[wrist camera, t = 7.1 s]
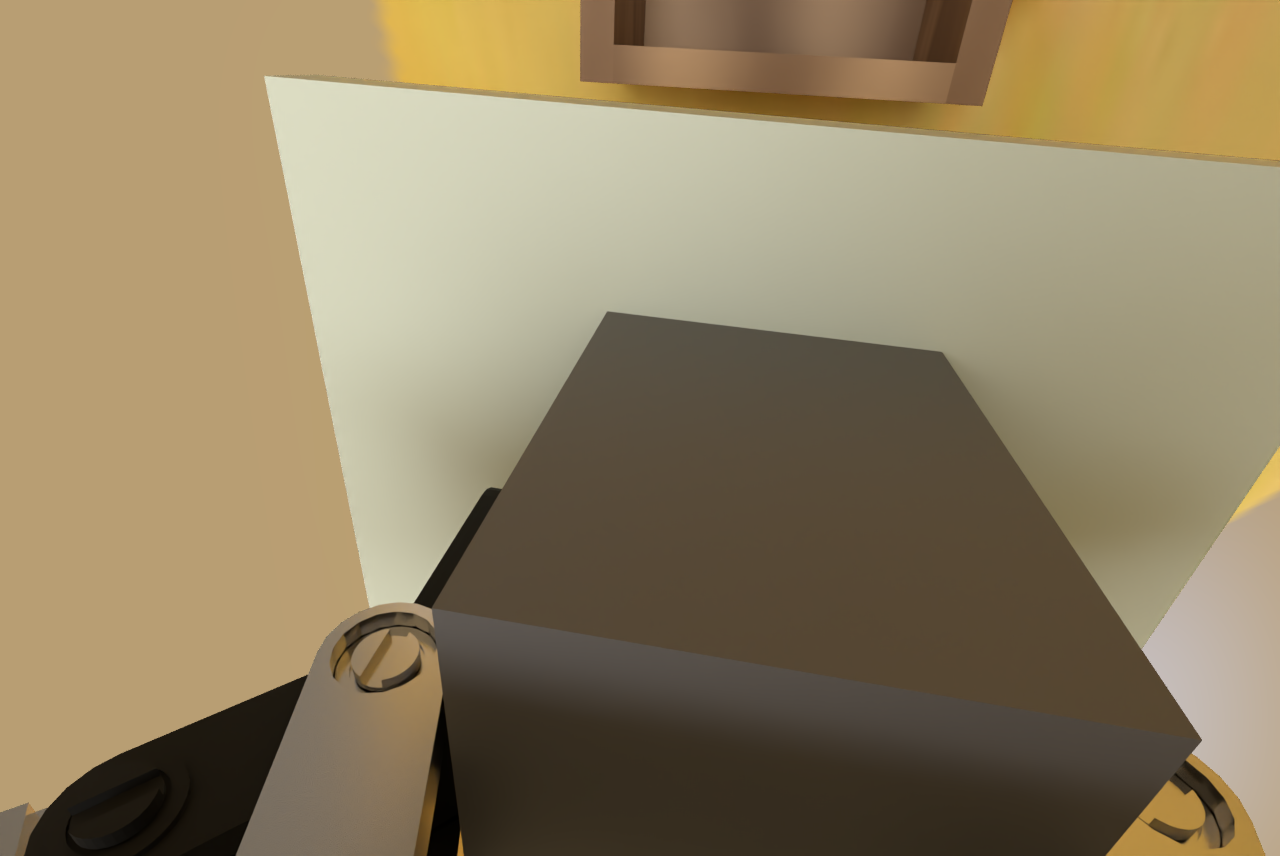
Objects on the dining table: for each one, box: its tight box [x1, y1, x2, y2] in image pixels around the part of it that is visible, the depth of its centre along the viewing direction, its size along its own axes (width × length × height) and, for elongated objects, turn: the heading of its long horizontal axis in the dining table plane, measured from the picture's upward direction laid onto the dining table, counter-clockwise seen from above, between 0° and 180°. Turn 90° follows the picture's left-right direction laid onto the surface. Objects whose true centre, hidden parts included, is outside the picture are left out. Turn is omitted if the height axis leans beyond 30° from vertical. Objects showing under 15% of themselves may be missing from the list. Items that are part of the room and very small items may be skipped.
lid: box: [264, 75, 1280, 856], centre depth 9 cm, size 14×11×8 cm
